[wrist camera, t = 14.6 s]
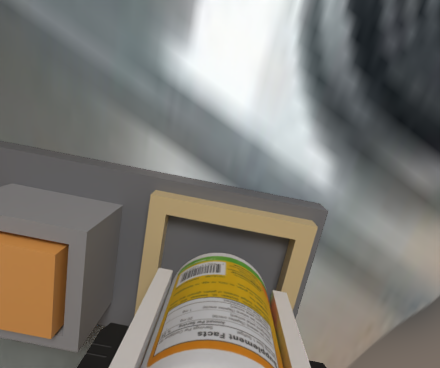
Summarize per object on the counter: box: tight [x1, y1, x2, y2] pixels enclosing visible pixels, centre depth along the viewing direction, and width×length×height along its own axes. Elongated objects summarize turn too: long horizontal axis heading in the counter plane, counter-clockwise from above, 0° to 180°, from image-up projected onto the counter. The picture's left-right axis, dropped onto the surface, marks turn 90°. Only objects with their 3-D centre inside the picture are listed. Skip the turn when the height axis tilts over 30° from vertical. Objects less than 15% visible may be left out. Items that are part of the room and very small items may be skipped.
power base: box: [0, 141, 328, 352], centre depth 15 cm, size 21×11×6 cm, turn 79°
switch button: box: [0, 231, 69, 339], centre depth 14 cm, size 5×5×4 cm
